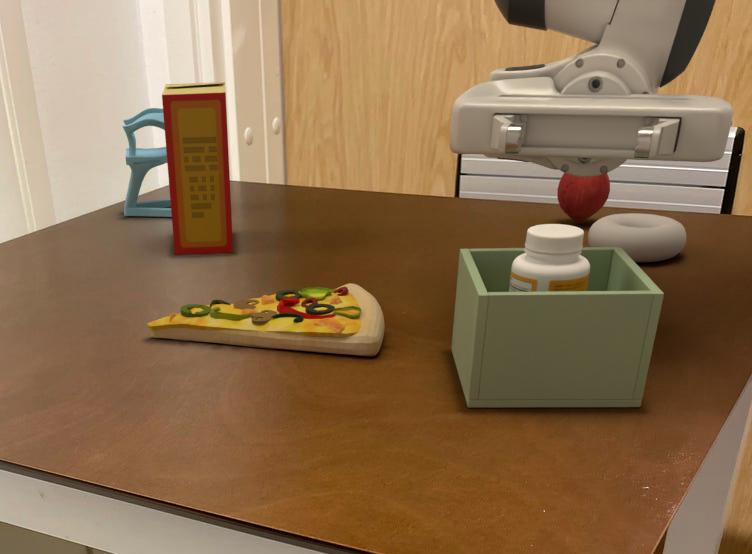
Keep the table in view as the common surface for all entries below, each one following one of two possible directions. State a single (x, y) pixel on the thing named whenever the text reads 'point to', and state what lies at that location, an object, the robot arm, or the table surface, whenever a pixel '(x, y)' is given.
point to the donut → (639, 236)
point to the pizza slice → (285, 321)
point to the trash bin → (553, 334)
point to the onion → (582, 195)
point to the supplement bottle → (551, 261)
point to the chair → (144, 165)
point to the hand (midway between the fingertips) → (576, 142)
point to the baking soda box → (198, 167)
